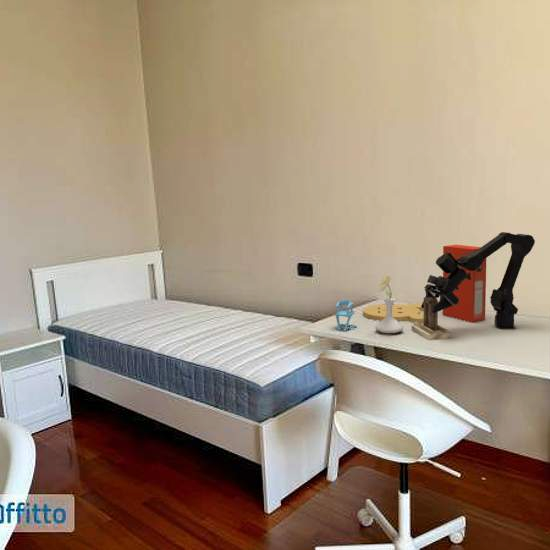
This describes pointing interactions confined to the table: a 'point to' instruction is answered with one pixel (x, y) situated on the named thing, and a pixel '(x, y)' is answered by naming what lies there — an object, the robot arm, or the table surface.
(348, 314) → the chair
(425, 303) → the walnut photo frame
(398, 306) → the decorative plaque
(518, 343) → the table surface
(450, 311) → the file binder
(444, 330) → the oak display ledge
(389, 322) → the flower in vase
